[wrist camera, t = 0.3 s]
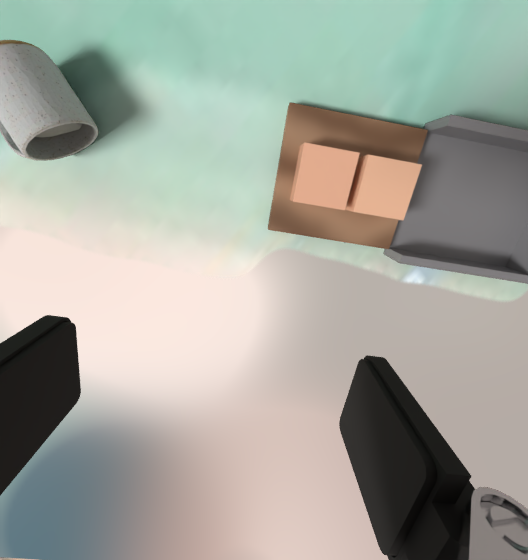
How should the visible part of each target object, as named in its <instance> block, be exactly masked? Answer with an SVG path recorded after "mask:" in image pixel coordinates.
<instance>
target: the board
mask: <svg viewBox="0 0 528 560" xmlns="http://www.w3.org/2000/svg"><path fill="white" fill-rule="evenodd" d="M427 132H428V130H425V129H420V128H415V127H410V126H405V125H400V124H395V123H390V122H385V121H380V120H375V119H370V118H365V117H360V116H355V115H350V114H345V113H340V112H335V111H330V110H325V109H320V108H315V107H310V106H305V105H300V104H295V103H289V106H288V111H287V117H286V123H285V129H284V135H283V141H282V147H281V153H280V159H279V165H278V171H277V176H276V182H275V188H274V194H273V200H272V206H271V212H270V218H269V224H268V230H273V231H280V232H286V233H292V234H298V235H304V236H310V237H316V238H323V239H329V240H335V241H341V242H347V243H353V244H359V245H366V246H372V247H378V248H384V249H389V248H390V245H391V242H392V239H393V235H394V232H395V229H396V226H397V223H398V219H392V218H386V217H380V216H375V215H369V214H363V213H357V212H352V211H349V210H346V208H345V210H340V209H334V208H328V207H322V206H316V205H311V204H305V203H299V202H293V201H291V200H290V197H291V192H292V187H293V181H294V176H295V171H296V166H297V160H298V155H299V150H300V146H301V145H302V144H303V143H304V142H305V143H310V144H316V145H321V146H326V147H332V148H337V149H342V150H347V151H353V152H358V153H360V154H359V157H361V156H365V155H374V156H379V157H384V158H390V159H395V160H400V161H405V162H411V163H416V164H417V162H418V159H419V156H420V153H421V150H422V147H423V144H424V141H425V138H426V135H427ZM358 159H359V158H358ZM357 163H358V162H357ZM355 170H356V169H355ZM354 174H355V173H354ZM353 178H354V177H353ZM352 182H353V181H352ZM351 186H352V185H351ZM350 190H351V189H350ZM348 197H349V196H348ZM347 201H348V200H347ZM346 205H347V204H346Z"/></svg>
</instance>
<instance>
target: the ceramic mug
mask: <svg viewBox="0 0 528 560" xmlns="http://www.w3.org/2000/svg"><path fill="white" fill-rule="evenodd" d="M0 131H1V134H2V135H3V137H4V139H5V140H6V142H7V143H8V145H9V146H10V147H11V148H12V149H13V150H14V151H15V152H16V153H17V154H18V155H20V156H22V157H25V158H29V159H33V160H54V159H59V158H63V157H67V156H70V155H73V154H75V153H77V152H79V151H81V150H83V149H85V148H86V147H88V146H89V145H90V144H91V143H92V142H94V141H95V139H96V137H97V136H98V128H97V126H96V124H95V123H94V121H93V120H92V118H91V117H90V115H89V114H88V112H87V111H86V109H85V108H84V106H83V104H82V103H81V101H80V100H79V99H78V97H77V96H76V94H75V93H74V91H73V90H72V88H71V87H70V85H69V84H68V82H67V80H66V79H65V77H64V76H63V74H62V73H61V71H60V70H59V68H58V67H57V66H56V64H55V63H54V62H53V61H52V60H51V59H50V57H49V56H48V55H47V54H46V53H45V52H44V51H42V50H41V49H39V48H38V47H36V46H34V45H32V44H29V43H26V42H22V41H16V40H2V41H0Z"/></svg>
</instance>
